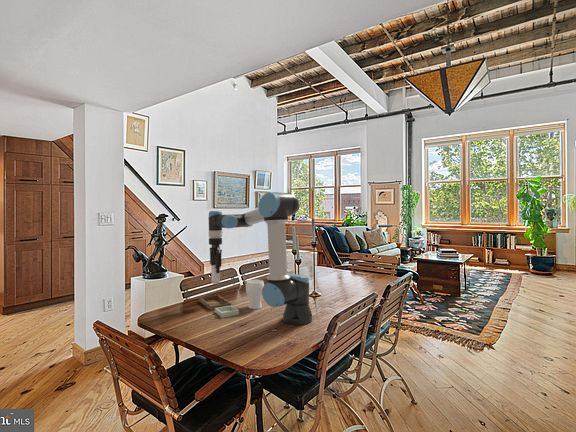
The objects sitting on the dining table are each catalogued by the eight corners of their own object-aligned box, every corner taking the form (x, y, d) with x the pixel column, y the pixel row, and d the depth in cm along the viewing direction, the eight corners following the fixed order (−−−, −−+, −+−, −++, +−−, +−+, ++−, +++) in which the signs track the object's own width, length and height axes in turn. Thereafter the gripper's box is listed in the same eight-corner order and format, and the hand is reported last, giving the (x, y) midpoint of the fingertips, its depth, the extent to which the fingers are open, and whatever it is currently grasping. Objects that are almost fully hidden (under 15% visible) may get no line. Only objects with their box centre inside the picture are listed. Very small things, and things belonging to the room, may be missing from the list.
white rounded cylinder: (221, 283, 194) (221, 265, 194) (213, 284, 192) (213, 266, 192) (218, 281, 199) (218, 264, 198) (210, 282, 196) (210, 265, 196)
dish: (238, 314, 180) (238, 310, 180) (221, 317, 175) (221, 313, 175) (231, 309, 188) (231, 305, 188) (214, 312, 183) (214, 308, 183)
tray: (231, 308, 191) (231, 303, 191) (211, 311, 185) (211, 306, 185) (218, 299, 209) (218, 294, 209) (199, 302, 202) (199, 297, 202)
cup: (261, 310, 187) (261, 283, 186) (243, 309, 189) (243, 283, 188) (266, 305, 197) (266, 279, 196) (249, 304, 199) (249, 278, 199)
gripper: (227, 238, 189) (227, 279, 190) (216, 236, 204) (216, 274, 205) (214, 239, 185) (214, 281, 186) (204, 236, 200) (204, 275, 201)
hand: (215, 277), depth 195 cm, fingers closed on white rounded cylinder, 5 cm apart
